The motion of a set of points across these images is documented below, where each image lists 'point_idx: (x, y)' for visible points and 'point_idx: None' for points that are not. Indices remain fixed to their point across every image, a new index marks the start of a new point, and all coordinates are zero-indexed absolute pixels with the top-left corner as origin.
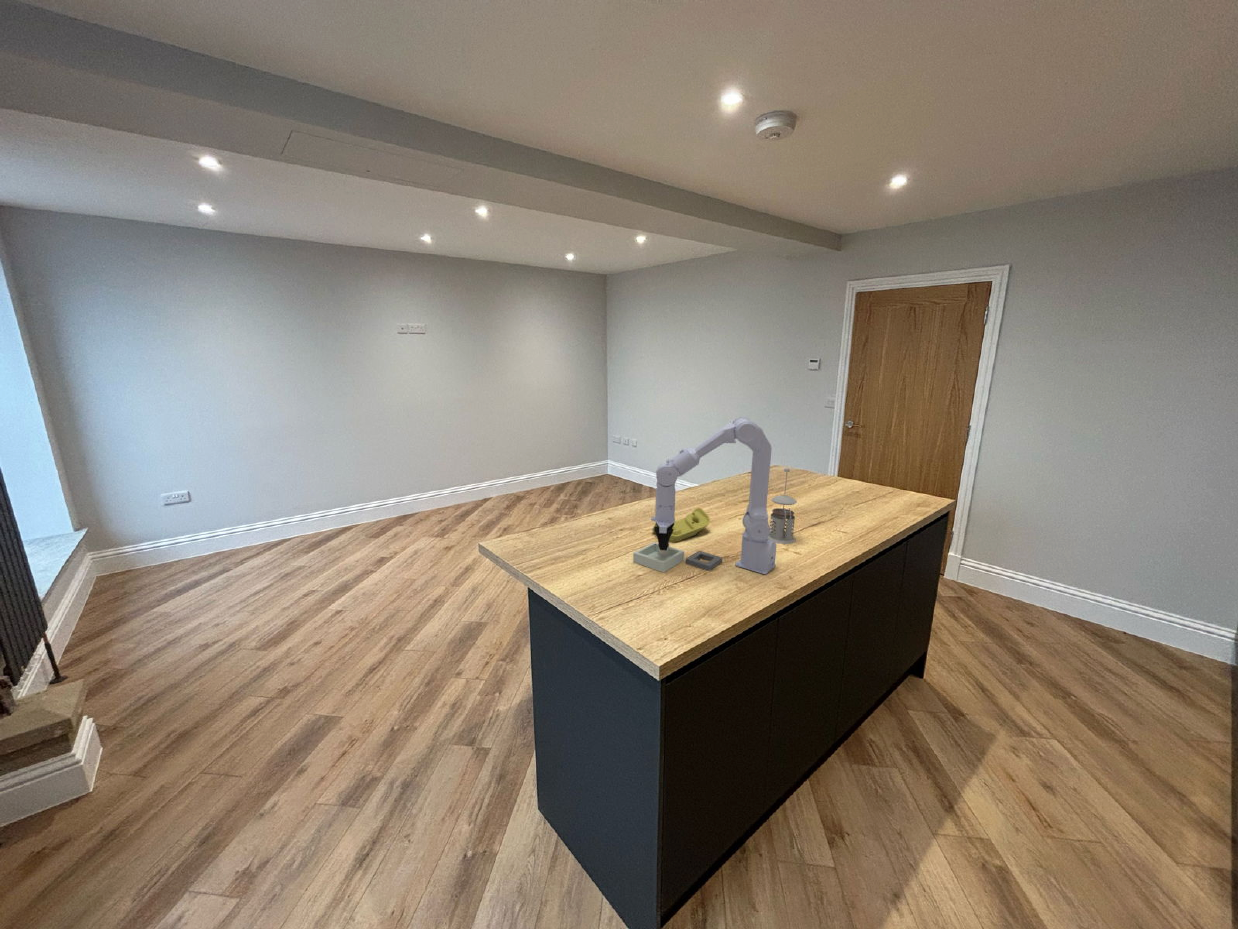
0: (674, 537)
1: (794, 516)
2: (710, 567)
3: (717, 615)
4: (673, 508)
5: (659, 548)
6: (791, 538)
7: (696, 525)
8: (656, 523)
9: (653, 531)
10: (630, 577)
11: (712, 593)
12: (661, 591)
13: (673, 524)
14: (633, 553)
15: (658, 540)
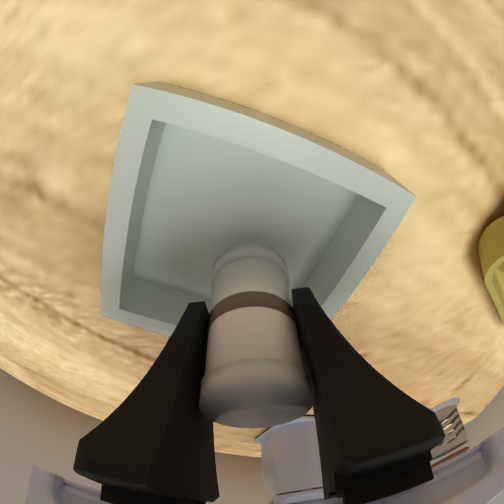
0: (484, 268)
1: (440, 456)
2: None
3: (41, 383)
4: None
5: (185, 310)
6: None
7: None
8: (348, 462)
9: None
10: (6, 161)
11: (101, 388)
12: (13, 293)
13: (324, 491)
14: (133, 86)
15: (153, 368)
